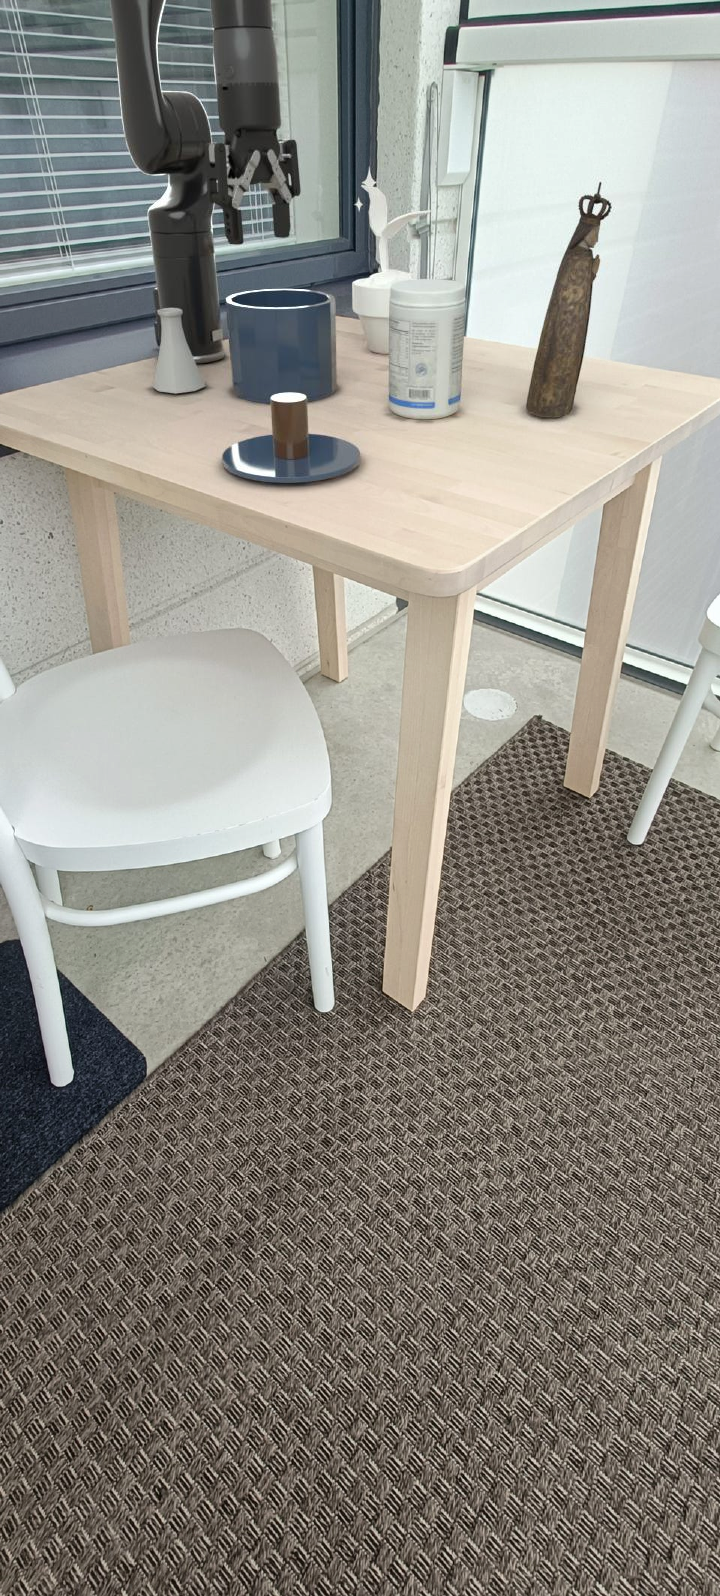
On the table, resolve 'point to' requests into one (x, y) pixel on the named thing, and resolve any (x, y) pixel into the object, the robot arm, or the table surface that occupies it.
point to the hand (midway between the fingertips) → (259, 240)
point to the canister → (282, 343)
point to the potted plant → (375, 290)
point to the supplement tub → (426, 347)
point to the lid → (290, 448)
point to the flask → (175, 357)
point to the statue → (567, 319)
